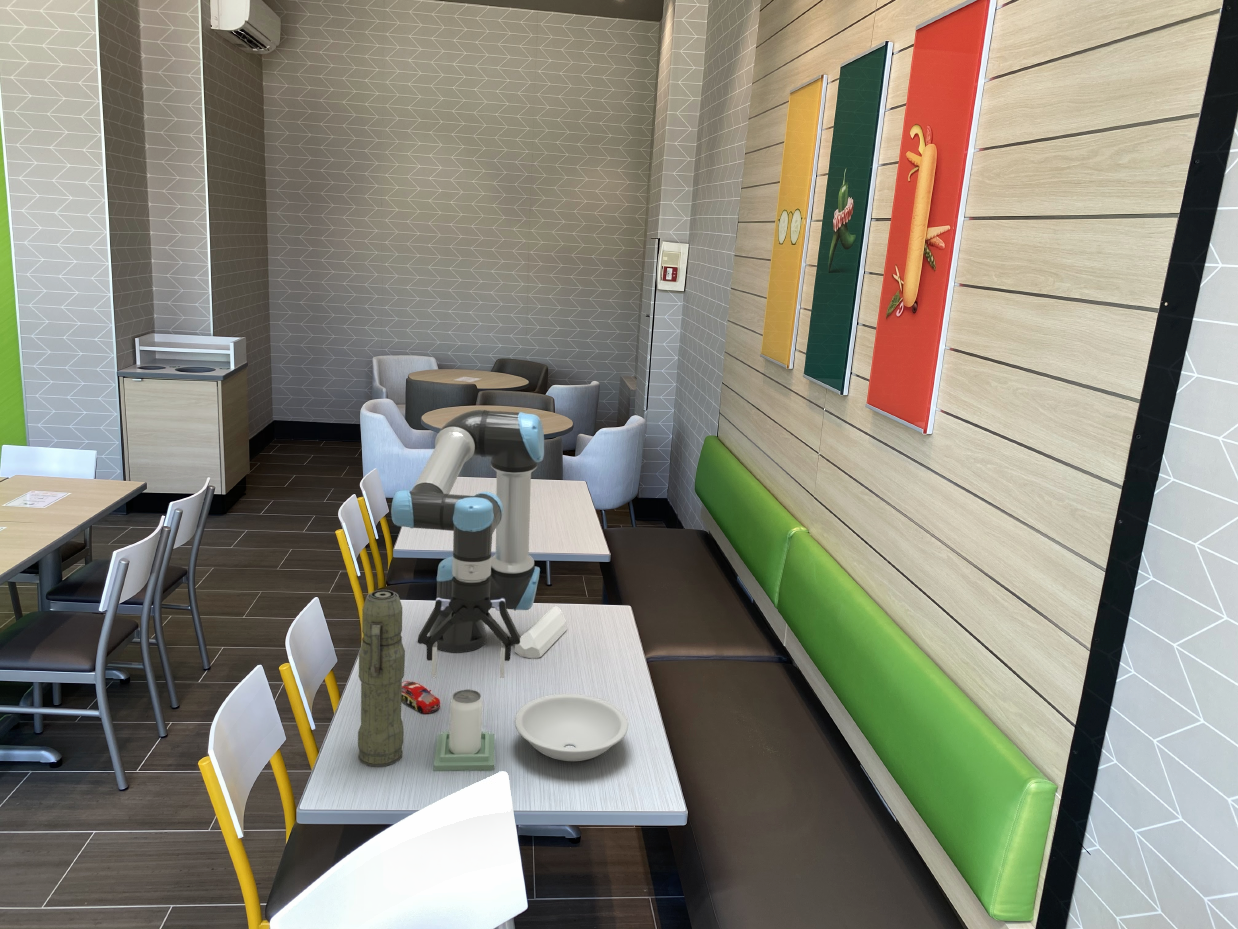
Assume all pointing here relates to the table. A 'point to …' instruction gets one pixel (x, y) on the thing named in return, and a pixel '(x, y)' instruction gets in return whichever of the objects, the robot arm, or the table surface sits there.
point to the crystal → (542, 634)
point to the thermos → (381, 680)
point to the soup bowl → (571, 725)
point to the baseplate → (464, 755)
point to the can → (465, 722)
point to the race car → (419, 697)
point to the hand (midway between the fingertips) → (468, 674)
